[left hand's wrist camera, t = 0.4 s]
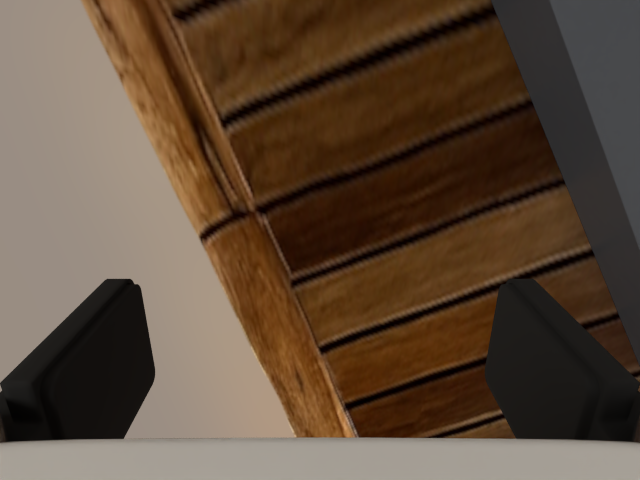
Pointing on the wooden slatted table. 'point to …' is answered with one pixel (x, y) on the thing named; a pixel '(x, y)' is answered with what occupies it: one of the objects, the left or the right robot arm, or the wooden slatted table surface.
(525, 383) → the left robot arm
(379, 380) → the wooden slatted table surface
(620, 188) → the post
